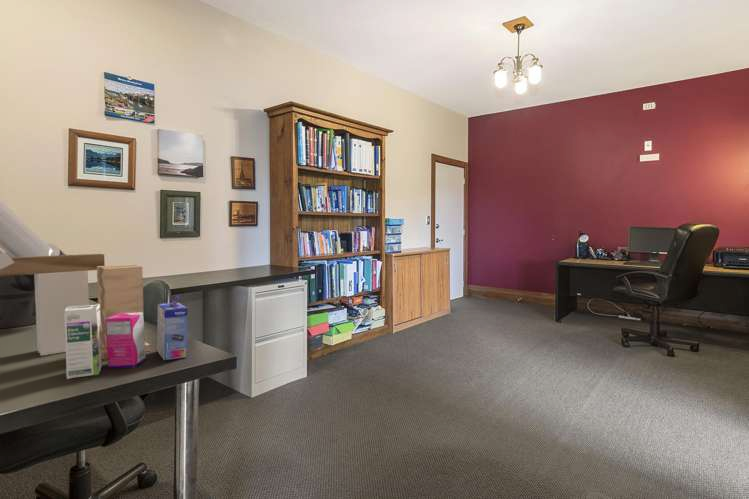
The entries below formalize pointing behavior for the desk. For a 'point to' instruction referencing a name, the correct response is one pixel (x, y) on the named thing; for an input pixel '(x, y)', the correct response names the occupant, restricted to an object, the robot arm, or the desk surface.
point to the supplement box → (125, 340)
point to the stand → (119, 295)
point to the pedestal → (57, 306)
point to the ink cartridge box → (172, 330)
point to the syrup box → (82, 341)
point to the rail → (53, 264)
